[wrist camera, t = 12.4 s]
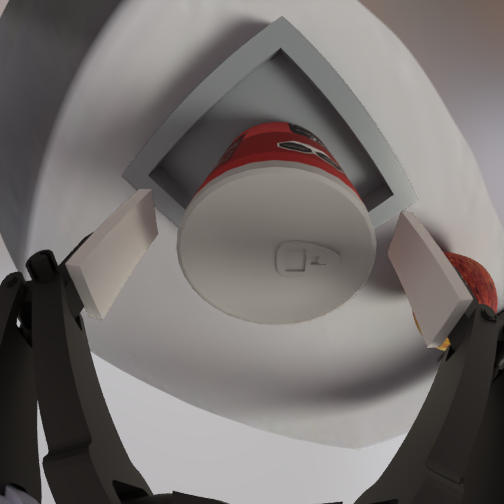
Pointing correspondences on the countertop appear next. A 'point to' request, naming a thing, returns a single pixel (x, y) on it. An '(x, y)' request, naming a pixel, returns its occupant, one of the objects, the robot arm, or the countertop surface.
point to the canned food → (277, 230)
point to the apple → (472, 284)
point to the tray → (264, 111)
